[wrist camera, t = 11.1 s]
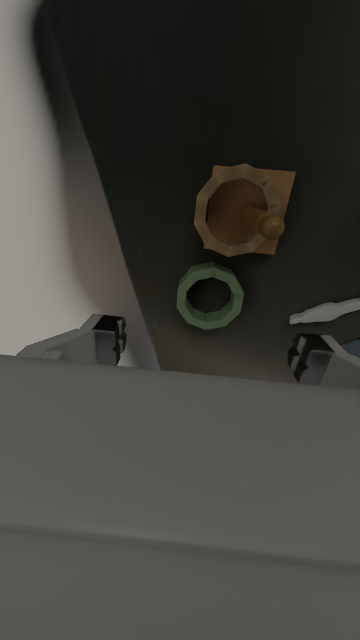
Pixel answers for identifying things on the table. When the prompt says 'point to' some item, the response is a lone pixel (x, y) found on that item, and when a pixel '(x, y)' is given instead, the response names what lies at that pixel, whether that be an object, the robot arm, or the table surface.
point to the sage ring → (216, 317)
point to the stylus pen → (326, 311)
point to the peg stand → (248, 210)
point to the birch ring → (269, 204)
